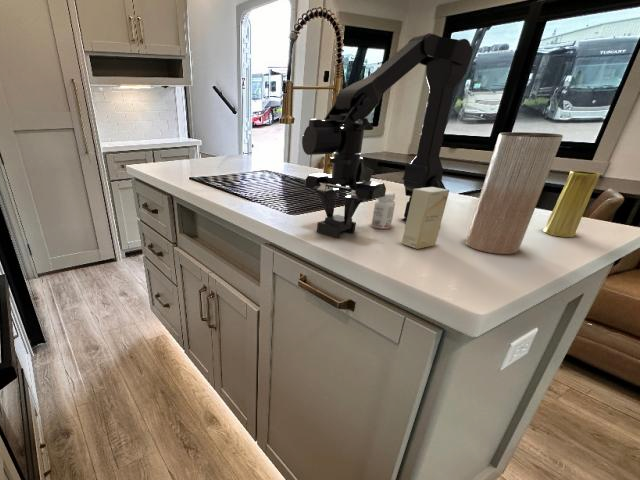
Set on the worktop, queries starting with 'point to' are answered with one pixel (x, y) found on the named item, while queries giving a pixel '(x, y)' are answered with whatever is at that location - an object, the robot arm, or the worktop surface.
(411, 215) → the cosmetic box
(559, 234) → the vase
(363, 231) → the worktop surface
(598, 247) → the worktop surface
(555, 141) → the planter
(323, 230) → the dark grey u-shaped bracket
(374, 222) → the pill bottle
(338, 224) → the loose pad
